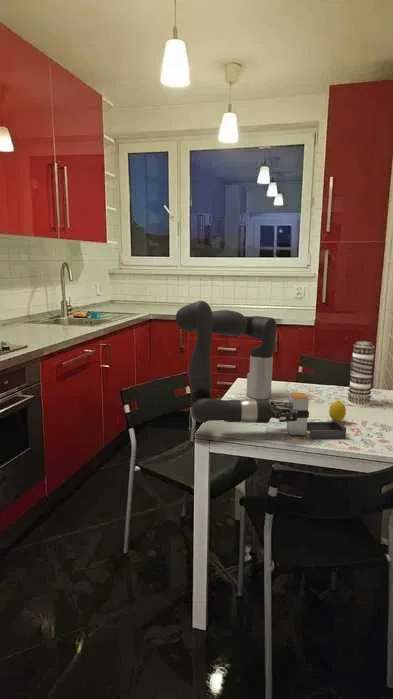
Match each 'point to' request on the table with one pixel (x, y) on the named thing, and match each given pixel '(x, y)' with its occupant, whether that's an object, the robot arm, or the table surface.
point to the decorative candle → (361, 374)
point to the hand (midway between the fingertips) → (305, 411)
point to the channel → (326, 430)
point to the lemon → (337, 410)
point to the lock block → (299, 404)
